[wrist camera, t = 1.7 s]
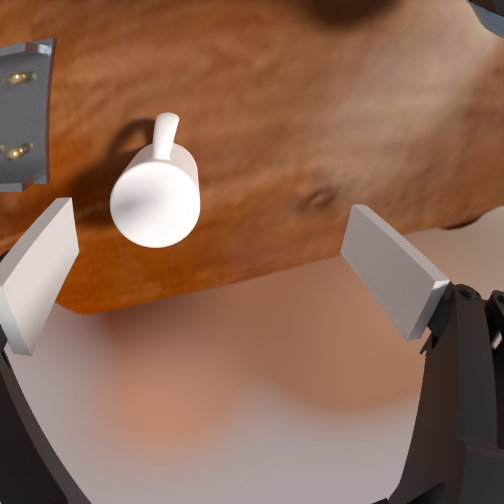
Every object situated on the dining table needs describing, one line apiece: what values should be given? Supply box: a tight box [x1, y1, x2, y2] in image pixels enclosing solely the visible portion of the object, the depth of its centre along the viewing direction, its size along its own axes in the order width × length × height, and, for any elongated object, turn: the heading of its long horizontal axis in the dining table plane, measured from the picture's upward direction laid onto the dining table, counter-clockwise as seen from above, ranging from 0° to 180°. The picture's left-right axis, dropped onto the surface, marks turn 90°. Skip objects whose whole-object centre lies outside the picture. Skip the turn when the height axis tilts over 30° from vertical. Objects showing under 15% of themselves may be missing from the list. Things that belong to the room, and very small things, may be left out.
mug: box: [110, 113, 200, 248], centre depth 30 cm, size 8×10×12 cm
